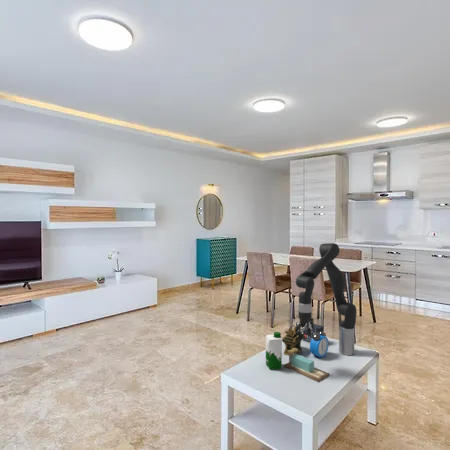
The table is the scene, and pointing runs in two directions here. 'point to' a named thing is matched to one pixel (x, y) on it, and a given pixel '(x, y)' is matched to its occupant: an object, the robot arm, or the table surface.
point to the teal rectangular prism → (303, 363)
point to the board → (313, 375)
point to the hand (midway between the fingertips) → (304, 337)
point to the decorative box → (292, 340)
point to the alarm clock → (319, 344)
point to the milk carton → (274, 351)
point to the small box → (312, 332)
